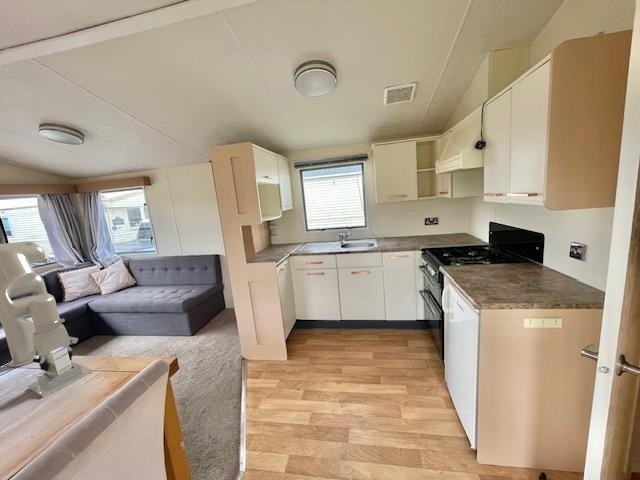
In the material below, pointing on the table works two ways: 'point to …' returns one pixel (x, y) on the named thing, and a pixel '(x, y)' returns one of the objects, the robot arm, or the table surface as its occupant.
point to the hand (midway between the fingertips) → (57, 364)
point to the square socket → (58, 380)
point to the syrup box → (57, 362)
